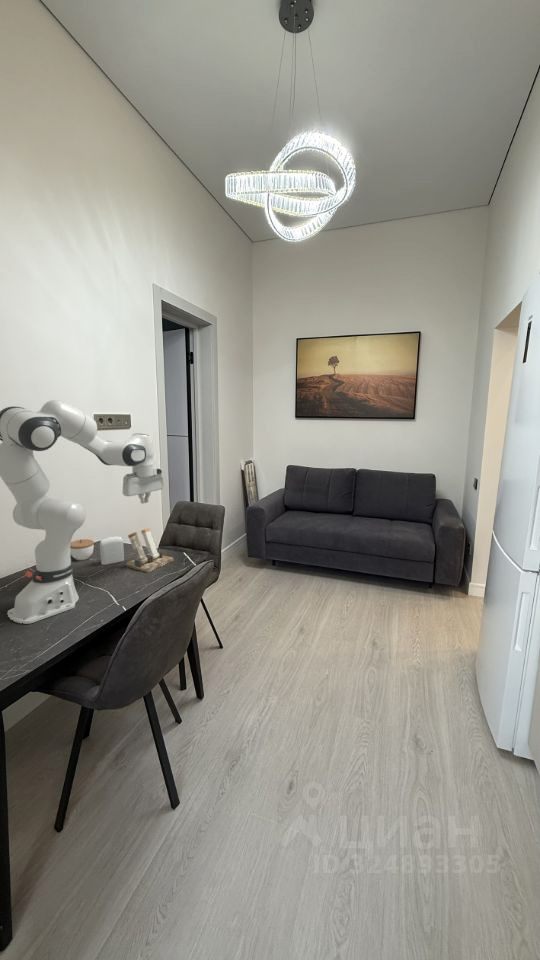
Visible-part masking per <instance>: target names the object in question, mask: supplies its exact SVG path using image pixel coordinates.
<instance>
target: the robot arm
mask: <svg viewBox="0 0 540 960" xmlns="http://www.w3.org/2000/svg"><path fill="white" fill-rule="evenodd" d="M97 434H98V424H97V422H96V420H95V419H94V418H92V417H91V416H90V415H89V414H88V413H86V412H84V411H83V410H81V409H80V408H78V407H75V406H74V405H72V404H69V403H67V402H64V401H61V400H58V399H52V400H49V401H47V402H45V403H44V404H43V405H42V407H41V408H40V409H39V410H38V411H36V412H34V411H32V410H30V409H27V408H25V407H21V406H8V407H7V406H6V407H4V408H3V409H2V410H0V441H1V443H0V478H1V480H2V481H3V483H4V484H5V485H6V487H7V488H8V490H9V491H10V492H11V494H12V496H13V497H14V500H15V502H16V504H15V506H14V507H13V511H12V519H13V522H14V523H16V524H17V525H18V526H22V527H24V528H27V529H32V530H42V531H43V530H44V531H45V536H44V539H43V540H42V541H40V542H39V543H38V544H37V545H36V547H35V548H34V557H35V566H36V568H35V569H34V571H33V572H32V571H30V570H27V571H26V572H25V573H24V576H25V577H27V578H29V579H30V578H31V581H30V582H29V583H28V584H27V585H26V586H25V587H24V588H23V589H22V590H20V591H19V593H18V594H16V596H15V599H14V607H13V608H11V609H9V610H7V615H8V616H7V618H8V617H9V618H10V619H9V618H8V619H9V620H11V621H12V620H13V622H15V623H18V624H22V623H23V625H25V624H26V625H28V624H32V623H37V622H38V621H41V620H44V619H46V618H49V617H52V616H55V615H58V614H61V613H63V612H67V611H69V610H72V609H74V608H76V603H77V602H78V600H80V597H79V593H78V592H77V590H76V587H75V581H74V577H73V576H74V567H73V562H72V555H71V553H70V544H71V542H72V538H73V536H74V534H75V533H76V532H77V530H79V529H80V528H81V527H82V526H83V525H84V523H85V520H86V510H85V508H84V506H83V505H82V504H81V503H78V502H75V501H71V500H67V499H66V500H65V499H53V498H50V497H48V496H47V495H46V494H47V493H48V492H49V490H50V487H51V486H50V485H51V483H50V479H48V477H47V476H46V474H45V472H44V470H43V469H42V467H41V466H40V464H39V463H38V461H37V460H36V459H35V455H34V451H35V452H43V451H47V450H49V449H51V448H52V447H53V446H55V443H57V440H58V438H59V437H61V438H64V439H66V440H68V441H70V442H72V443H74V444H77V445H79V446H80V447H82V448H84V449H85V450H87V451H89V452H90V453H93V454H94V456H96V457H97V459H98V460H99V461H100V462H101V463H102V464H103V465H105V466H120V467H132V468H131V469H132V470H131V471H132V473H127V474H125V475H124V477H123V478H122V481H123V482H122V495H123V496H124V497H132V496H138V498H139V499H140V504H143V505H144V504H146V503H149V500H150V498H151V493H152V492H157V491H161V490H163V489H164V487H165V480H164V478H165V477H164V475H163V474H164V470H163V468H160V467H156V466H155V463H154V459H153V457H154V444H153V440H152V436H150V435H149V434H144V433H133V434H132V435H131V437H130V438H129V439H127V440H126V441H124V442H119V441H111V440H110V441H109V440H103V439H102V438H100V437H99V436H97Z"/></svg>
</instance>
